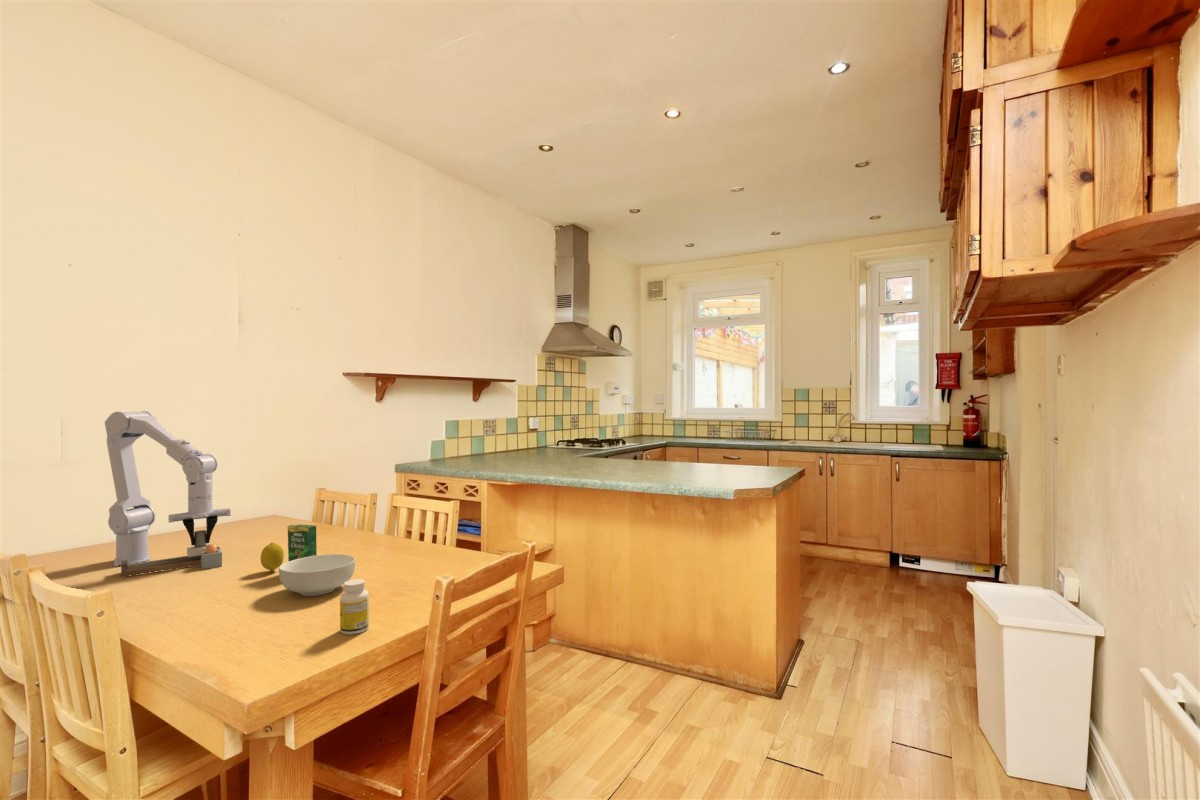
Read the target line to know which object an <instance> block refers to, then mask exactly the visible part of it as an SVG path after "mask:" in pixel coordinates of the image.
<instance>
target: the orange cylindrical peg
mask: <svg viewBox="0 0 1200 800" xmlns="http://www.w3.org/2000/svg"><path fill="white" fill-rule="evenodd" d="M208 544H209V545H206V554H210V553H217V547H218V544H216V543H212V544H210V543H208Z"/></svg>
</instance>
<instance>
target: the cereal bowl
mask: <svg viewBox="0 0 1200 800" xmlns="http://www.w3.org/2000/svg"><path fill="white" fill-rule="evenodd" d="M355 567H356V558H355V556H352V555H349V554H343V553H342V554H341V553H332V554H329V553H328V554H327V553H326V554H318V555H316V556H309V557H304V558H300V559H295V560H292V561H289V560H288V561H287V562H284V563H282V564H281V565H280V566H279V567H278V577H279V578H278V579H279V581H280V584H281V585H282V586H283V587H284V588H285V589H286V590H288V591H291V592H294V593H299V594H300V595H301V596H306V597H314V596H322V595H326V594H329V593H332V592H334V591H335V590H336V589H337V588H339V587H341V586H344V582H346V581H349V580H351V578H352V577H353V575H354V572H355Z"/></svg>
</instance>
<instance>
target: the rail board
mask: <svg viewBox="0 0 1200 800" xmlns="http://www.w3.org/2000/svg"><path fill="white" fill-rule="evenodd" d="M217 549H221V548H220V546H217ZM197 565H200V566H201V555H199V556H192V557H188V556H187V555H184V556H177V557H176V556H175V557H171V558H170V557H169V558H163V559H156V560H150V561H148V562H141V563H134V564H128V559H126V560H122V562H121V565H120V578H121V577H122V578H124V577H123V576H129V575H135V576H137V575H136V574H141V573H148V574H150V573H149V572H155V571H161V570H168V571H170V570H169V569H174V570H177V569H176V568H181V569H184V568H183V567H187V568H190V567H189V566H194V567H198V566H197ZM161 572H162V571H161ZM155 573H156V572H155ZM129 577H130V576H129Z"/></svg>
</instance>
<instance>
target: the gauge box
mask: <svg viewBox="0 0 1200 800" xmlns="http://www.w3.org/2000/svg"><path fill="white" fill-rule="evenodd" d="M218 566H221V567H223V551H222V549H221V548H220V549H217V553H210V554H206V551H203V552H201V565H200V568H201V567H202V568H201V570H206V569H205V568H209V569H213V568H212V567H215V568H219V567H218Z"/></svg>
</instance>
